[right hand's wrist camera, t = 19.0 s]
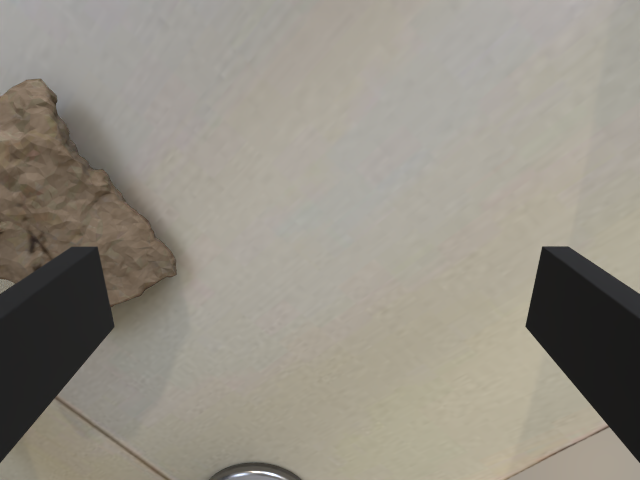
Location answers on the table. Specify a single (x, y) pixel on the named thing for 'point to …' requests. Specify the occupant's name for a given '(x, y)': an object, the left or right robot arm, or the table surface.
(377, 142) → the table surface
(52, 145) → the stone
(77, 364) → the right robot arm
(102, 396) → the table surface
